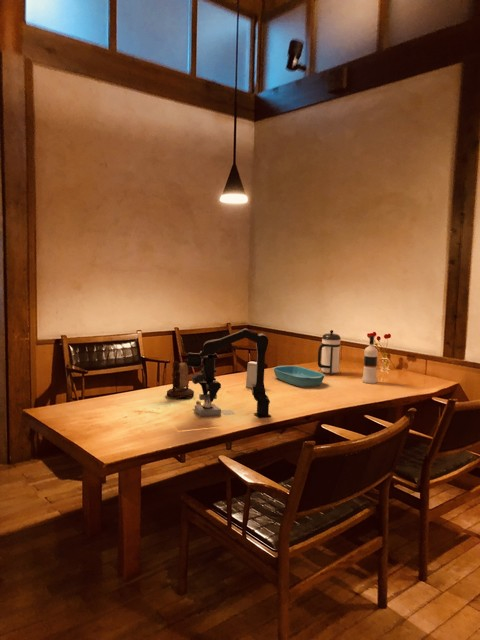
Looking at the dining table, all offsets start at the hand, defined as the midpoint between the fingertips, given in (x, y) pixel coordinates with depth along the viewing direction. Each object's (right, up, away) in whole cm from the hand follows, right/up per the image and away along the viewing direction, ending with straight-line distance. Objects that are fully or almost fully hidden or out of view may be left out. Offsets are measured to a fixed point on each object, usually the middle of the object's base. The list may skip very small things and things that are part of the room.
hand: (208, 399), depth 250 cm
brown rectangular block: (0, -7, +1) cm, 7 cm away
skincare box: (+24, -2, +60) cm, 65 cm away
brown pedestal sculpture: (-17, -4, +34) cm, 38 cm away
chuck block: (-2, -7, +5) cm, 9 cm away
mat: (+9, -8, +4) cm, 13 cm away
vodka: (+98, -2, +82) cm, 128 cm away
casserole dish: (+52, -1, +78) cm, 94 cm away
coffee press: (+76, +1, +104) cm, 129 cm away
